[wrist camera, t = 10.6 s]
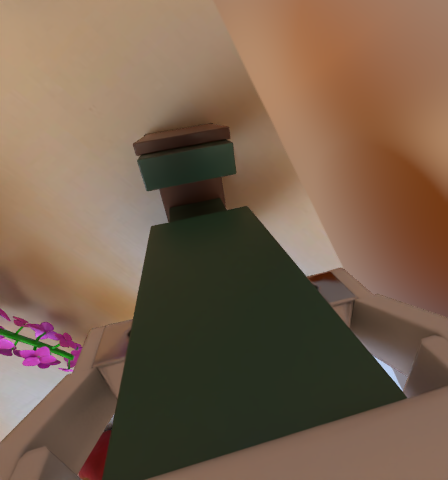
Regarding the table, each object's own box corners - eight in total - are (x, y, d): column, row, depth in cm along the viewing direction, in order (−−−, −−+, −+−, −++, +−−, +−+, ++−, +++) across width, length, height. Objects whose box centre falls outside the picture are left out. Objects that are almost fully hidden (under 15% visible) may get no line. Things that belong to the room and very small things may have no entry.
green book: (247, 205, 15) (427, 418, 4) (250, 233, 16) (404, 464, 5) (150, 225, 14) (90, 527, 4) (159, 254, 15) (131, 557, 5)
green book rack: (211, 123, 25) (243, 127, 14) (229, 236, 32) (260, 302, 20) (144, 134, 25) (120, 149, 13) (176, 247, 31) (178, 323, 20)
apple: (104, 416, 44) (91, 474, 37) (141, 427, 47) (135, 481, 40) (79, 438, 45) (62, 497, 38) (117, 447, 49) (107, 502, 42)
